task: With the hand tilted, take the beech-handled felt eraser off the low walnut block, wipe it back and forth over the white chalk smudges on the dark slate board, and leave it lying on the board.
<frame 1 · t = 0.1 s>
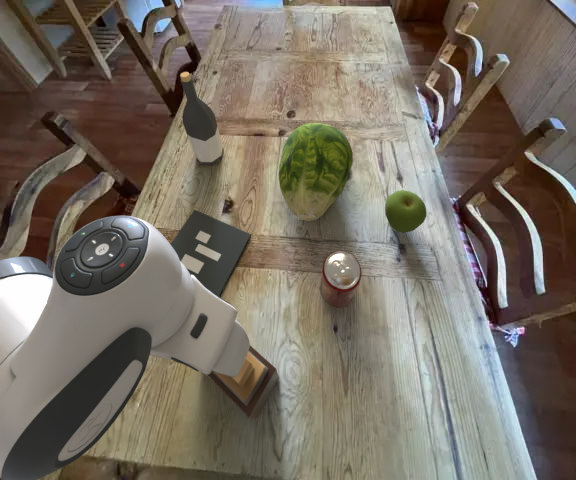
hand: (187, 333, 49), 21 cm above the table, tool pointing down, fingers open, 8 cm apart
apple: (398, 225, 81), on the table
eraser: (231, 362, 54), point 11 cm above the table, touching walnut block
soda can: (337, 289, 71), on the table
wine bottle: (210, 154, 97), on the table
slate board: (201, 258, 77), on the table
lettuce: (314, 186, 89), on the table
walnut block: (240, 372, 62), on the table
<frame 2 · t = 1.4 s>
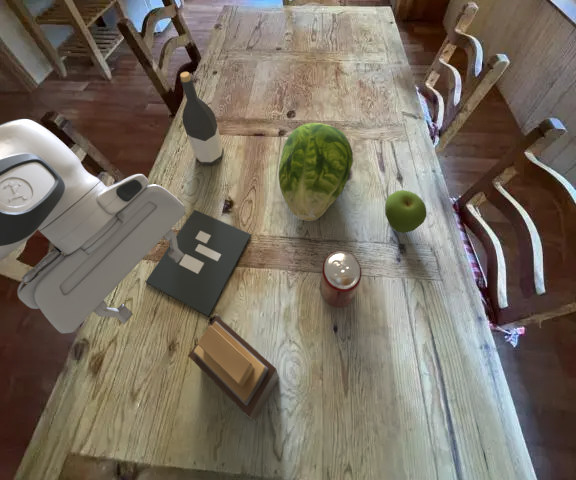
hand: (155, 286, 49), 25 cm above the table, tool tilted 45°, fingers open, 8 cm apart
nothing on the table moved.
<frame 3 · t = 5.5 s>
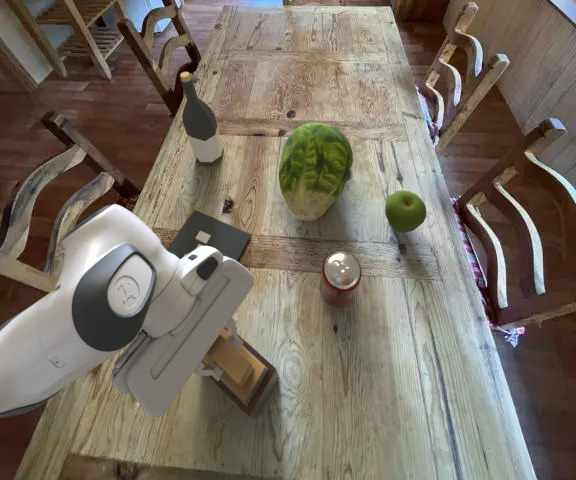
hand: (229, 359, 51), 16 cm above the table, tool tilted 45°, fingers closed on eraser, 3 cm apart
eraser: (231, 362, 54), point 11 cm above the table, touching gripper, walnut block
everything else where it was.
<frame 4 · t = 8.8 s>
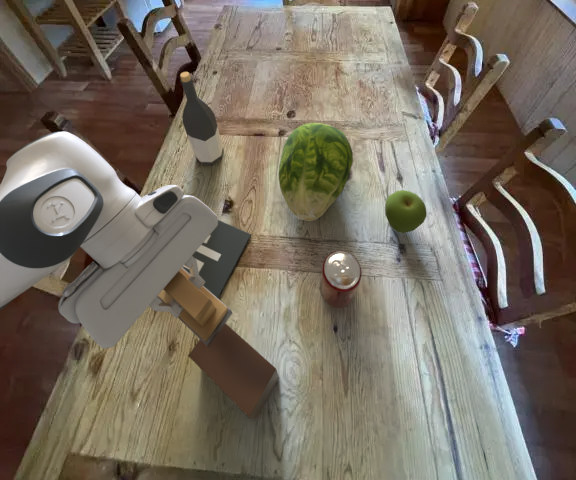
hand: (190, 298, 49), 24 cm above the table, tool tilted 45°, fingers closed on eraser, 3 cm apart
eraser: (194, 305, 53), point 20 cm above the table, touching gripper
everything else where it was.
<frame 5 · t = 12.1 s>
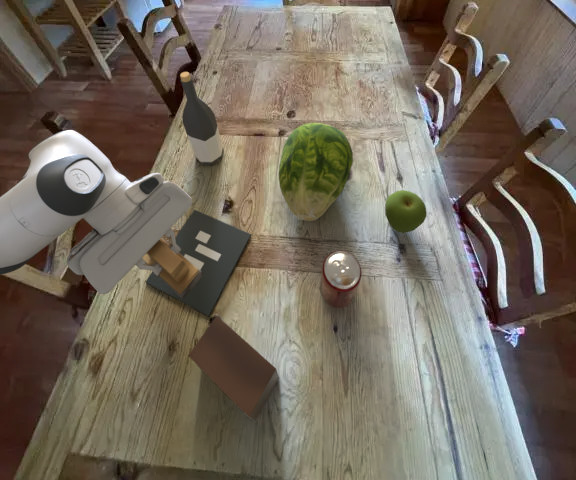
hand: (169, 262, 62), 14 cm above the table, tool tilted 45°, fingers closed on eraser, 3 cm apart
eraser: (173, 269, 66), point 9 cm above the table, touching gripper
everything else where it was.
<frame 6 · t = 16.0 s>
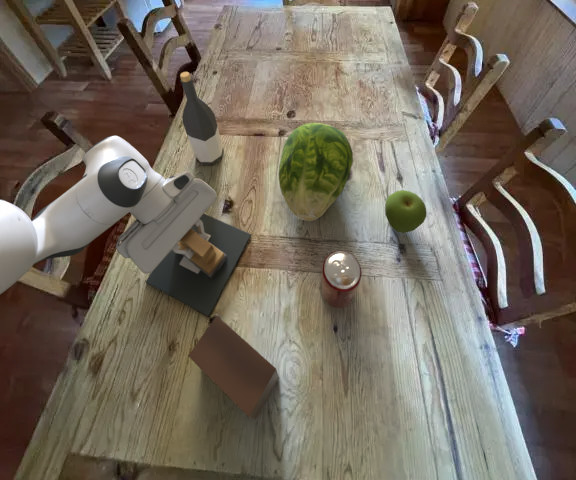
hand: (198, 247, 73), 6 cm above the table, tool tilted 45°, fingers closed on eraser, 3 cm apart
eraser: (201, 254, 76), point 1 cm above the table, touching gripper, slate board
everything else where it was.
when the fingers open (5 cm above the table, at t = 19.0 s): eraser stays where it is, resting on slate board.
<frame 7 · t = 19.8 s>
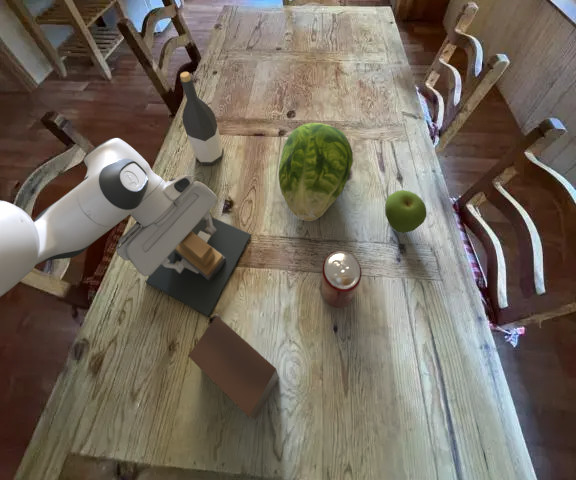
hand: (198, 250, 73), 5 cm above the table, tool tilted 45°, fingers open, 8 cm apart
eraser: (200, 256, 76), point 1 cm above the table, touching slate board
everything else where it was.
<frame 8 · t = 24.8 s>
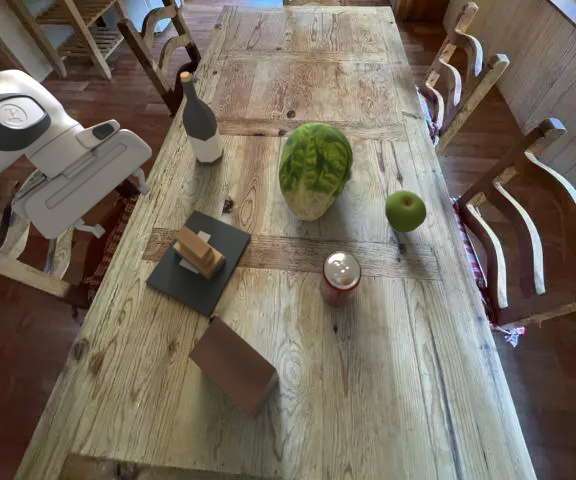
hand: (125, 212, 60), 23 cm above the table, tool tilted 45°, fingers open, 8 cm apart
nothing on the table moved.
at the end: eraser inside the target area on the slate board (0.9 cm from its centre), point 0.8 cm above the slate board's base; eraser tilted 0°; the gripper is holding nothing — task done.
